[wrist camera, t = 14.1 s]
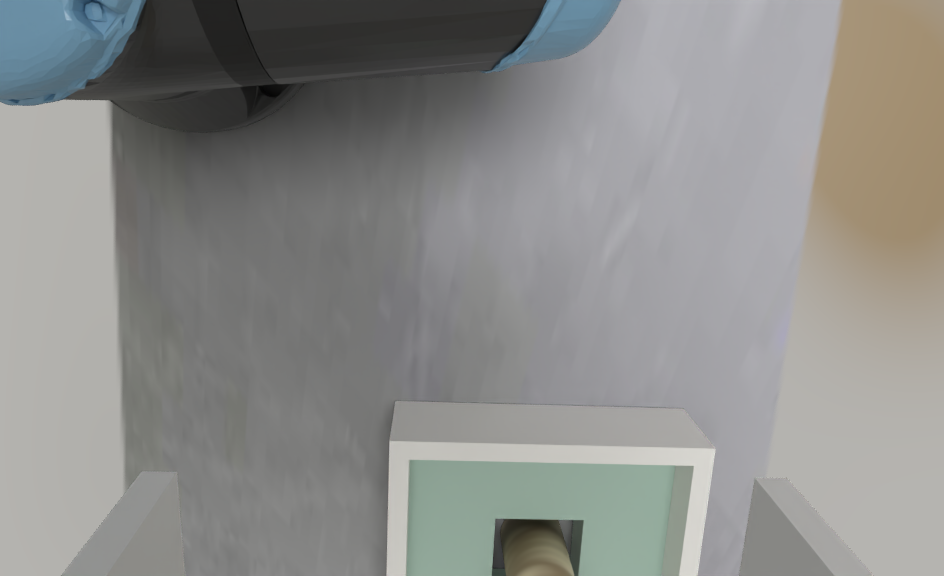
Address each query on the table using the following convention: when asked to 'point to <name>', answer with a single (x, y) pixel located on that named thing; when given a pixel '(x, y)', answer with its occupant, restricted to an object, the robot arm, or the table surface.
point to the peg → (534, 548)
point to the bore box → (546, 485)
